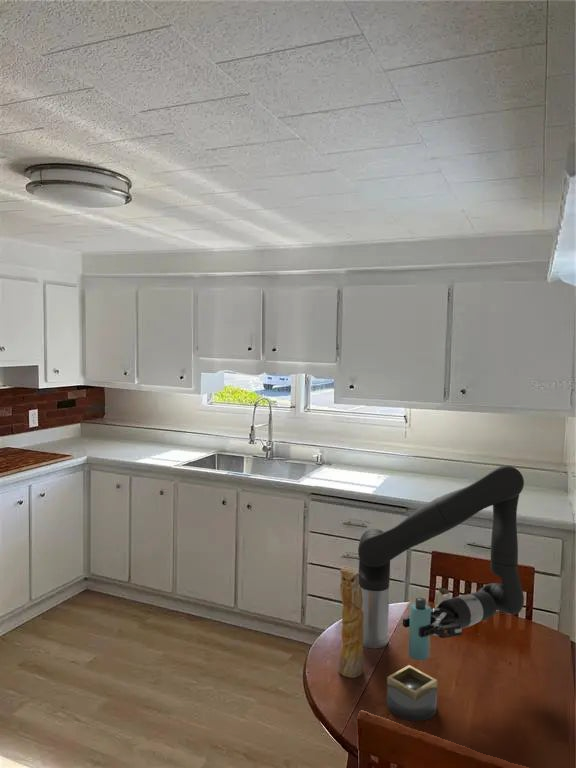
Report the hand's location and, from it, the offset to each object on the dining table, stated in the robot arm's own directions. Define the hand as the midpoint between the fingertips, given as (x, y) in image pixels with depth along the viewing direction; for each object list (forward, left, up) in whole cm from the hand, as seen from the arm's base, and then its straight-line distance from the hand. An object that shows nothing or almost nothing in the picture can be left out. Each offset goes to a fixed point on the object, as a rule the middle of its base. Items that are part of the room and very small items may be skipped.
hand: (411, 627), depth 141 cm
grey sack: (-23, +47, -20) cm, 56 cm away
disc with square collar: (0, +1, -20) cm, 20 cm away
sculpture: (-19, -1, -20) cm, 28 cm away
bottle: (0, +3, -7) cm, 8 cm away
